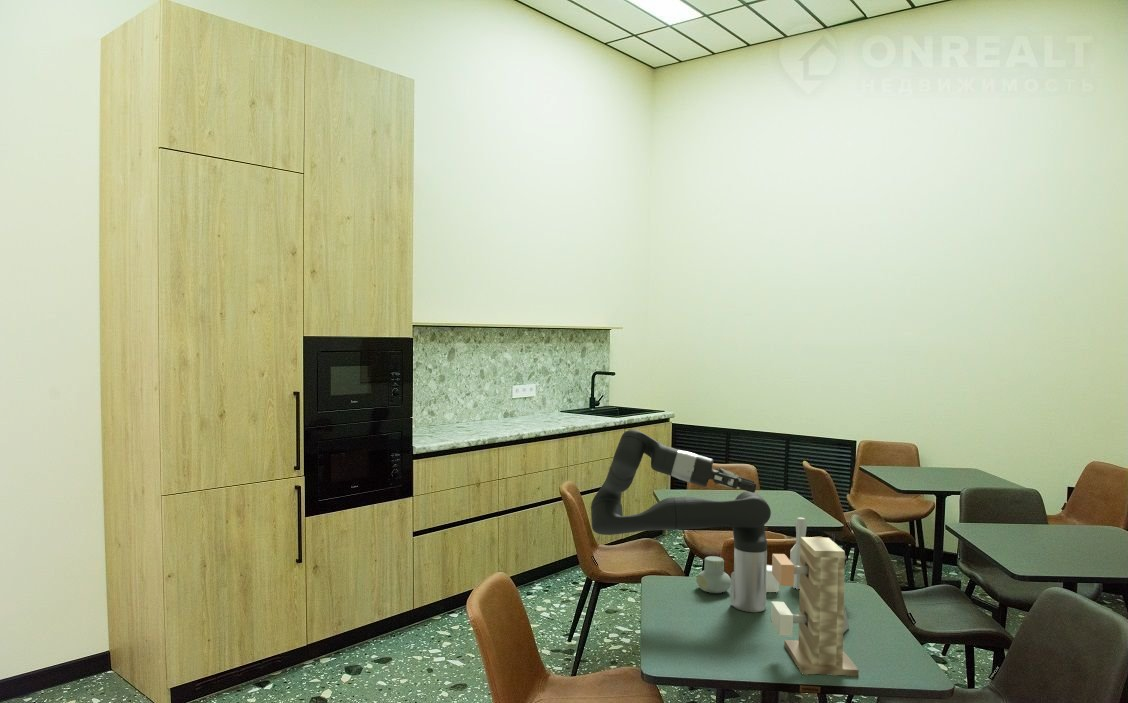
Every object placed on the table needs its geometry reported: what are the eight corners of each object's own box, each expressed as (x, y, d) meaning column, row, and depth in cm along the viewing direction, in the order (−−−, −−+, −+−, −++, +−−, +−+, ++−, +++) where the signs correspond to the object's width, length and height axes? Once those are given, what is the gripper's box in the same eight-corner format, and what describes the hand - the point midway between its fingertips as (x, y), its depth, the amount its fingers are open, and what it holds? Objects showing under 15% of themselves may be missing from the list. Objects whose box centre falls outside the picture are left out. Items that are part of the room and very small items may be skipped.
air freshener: (693, 586, 231) (693, 554, 231) (716, 583, 234) (717, 552, 234) (710, 597, 221) (711, 565, 221) (734, 595, 224) (735, 562, 223)
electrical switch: (838, 639, 191) (835, 603, 192) (818, 635, 195) (816, 600, 195) (850, 628, 199) (847, 594, 199) (830, 625, 202) (828, 591, 202)
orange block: (804, 574, 183) (805, 554, 183) (815, 586, 174) (815, 565, 174) (771, 573, 183) (772, 553, 183) (780, 585, 174) (781, 564, 174)
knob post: (836, 647, 186) (838, 535, 186) (858, 676, 170) (860, 554, 170) (784, 645, 187) (786, 534, 186) (801, 674, 171) (804, 552, 170)
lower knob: (803, 622, 183) (804, 602, 183) (814, 636, 174) (814, 615, 174) (771, 621, 183) (771, 601, 183) (779, 635, 174) (780, 614, 174)
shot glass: (768, 594, 224) (768, 572, 224) (753, 588, 230) (753, 565, 230) (785, 591, 227) (785, 569, 227) (769, 584, 234) (769, 563, 233)
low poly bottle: (786, 584, 234) (787, 515, 234) (805, 583, 235) (806, 515, 235) (794, 591, 228) (795, 520, 228) (813, 590, 229) (815, 520, 228)
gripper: (689, 479, 195) (749, 498, 192) (687, 484, 181) (752, 504, 178) (696, 452, 195) (757, 471, 192) (695, 455, 182) (760, 474, 178)
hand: (754, 487), depth 185 cm, fingers open, 8 cm apart
